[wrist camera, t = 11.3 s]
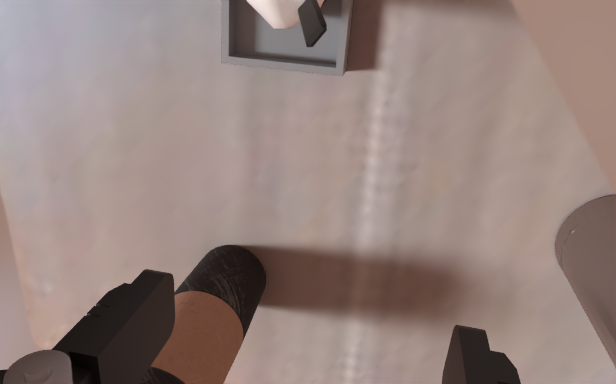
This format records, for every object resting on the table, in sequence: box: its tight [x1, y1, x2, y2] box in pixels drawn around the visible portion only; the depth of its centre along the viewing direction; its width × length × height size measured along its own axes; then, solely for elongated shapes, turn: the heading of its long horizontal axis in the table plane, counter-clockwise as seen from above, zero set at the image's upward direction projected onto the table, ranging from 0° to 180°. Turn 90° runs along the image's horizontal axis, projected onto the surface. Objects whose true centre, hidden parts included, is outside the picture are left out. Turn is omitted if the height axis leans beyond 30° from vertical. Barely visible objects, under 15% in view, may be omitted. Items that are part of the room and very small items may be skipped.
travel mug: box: [139, 245, 266, 384], centre depth 41 cm, size 8×8×20 cm
